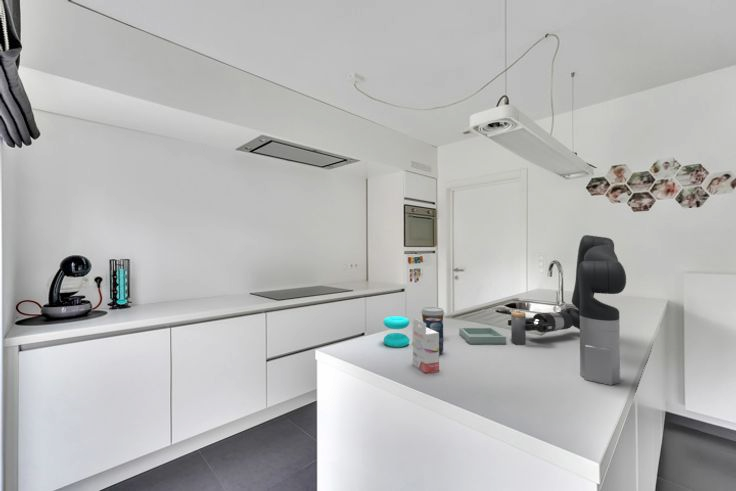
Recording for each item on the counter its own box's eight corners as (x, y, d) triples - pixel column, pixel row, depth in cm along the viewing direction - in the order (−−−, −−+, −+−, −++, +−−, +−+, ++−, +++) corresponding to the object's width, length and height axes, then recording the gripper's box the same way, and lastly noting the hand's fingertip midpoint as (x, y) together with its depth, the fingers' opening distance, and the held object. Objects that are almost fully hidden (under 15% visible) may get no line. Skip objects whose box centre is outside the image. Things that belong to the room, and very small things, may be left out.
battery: (523, 346, 120) (523, 312, 120) (509, 343, 123) (509, 310, 123) (527, 343, 124) (526, 310, 124) (513, 340, 127) (513, 308, 127)
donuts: (390, 314, 130) (413, 317, 125) (390, 339, 130) (413, 342, 125) (378, 319, 122) (402, 322, 116) (378, 345, 121) (402, 349, 116)
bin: (506, 344, 122) (506, 336, 122) (469, 344, 122) (469, 336, 122) (492, 334, 136) (492, 327, 136) (459, 334, 136) (459, 327, 136)
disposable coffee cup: (417, 336, 134) (417, 307, 134) (437, 334, 137) (437, 306, 137) (428, 342, 125) (427, 312, 125) (449, 340, 128) (449, 310, 128)
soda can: (442, 356, 108) (442, 321, 108) (422, 354, 111) (421, 320, 111) (444, 350, 115) (444, 317, 115) (425, 348, 117) (424, 316, 117)
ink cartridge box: (440, 371, 96) (440, 322, 96) (425, 373, 94) (425, 324, 94) (425, 361, 104) (425, 316, 104) (411, 363, 102) (411, 318, 102)
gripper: (533, 309, 135) (503, 312, 130) (564, 316, 122) (531, 319, 116) (533, 327, 135) (503, 330, 130) (564, 335, 122) (531, 340, 116)
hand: (516, 325), depth 123 cm, fingers open, 8 cm apart
